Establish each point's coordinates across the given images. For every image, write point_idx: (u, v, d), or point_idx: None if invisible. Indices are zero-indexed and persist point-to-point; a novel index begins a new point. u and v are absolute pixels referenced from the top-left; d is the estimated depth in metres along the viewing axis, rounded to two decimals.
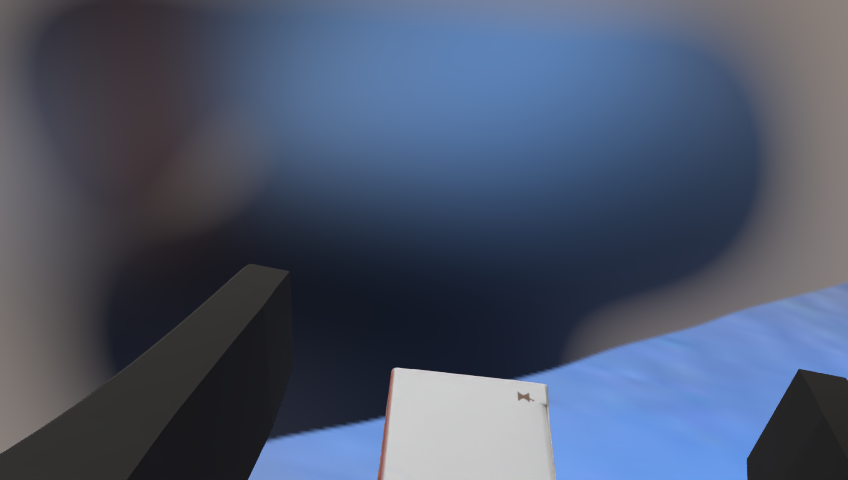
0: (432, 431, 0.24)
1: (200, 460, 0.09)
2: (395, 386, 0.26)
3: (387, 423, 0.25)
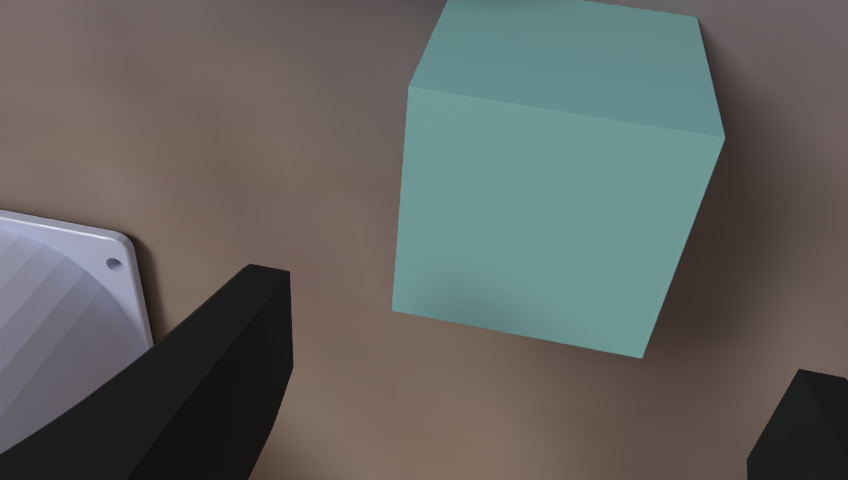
0: None
1: (200, 460, 0.09)
2: None
3: None
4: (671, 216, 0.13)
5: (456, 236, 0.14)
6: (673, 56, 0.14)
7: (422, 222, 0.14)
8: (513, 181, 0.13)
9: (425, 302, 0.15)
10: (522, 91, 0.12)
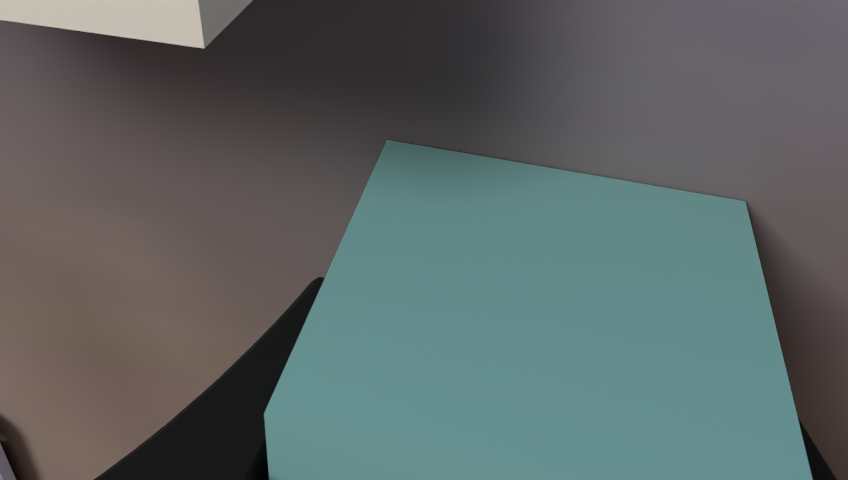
0: None
1: None
2: None
3: None
4: None
5: None
6: (717, 301, 0.09)
7: None
8: None
9: None
10: (464, 414, 0.07)
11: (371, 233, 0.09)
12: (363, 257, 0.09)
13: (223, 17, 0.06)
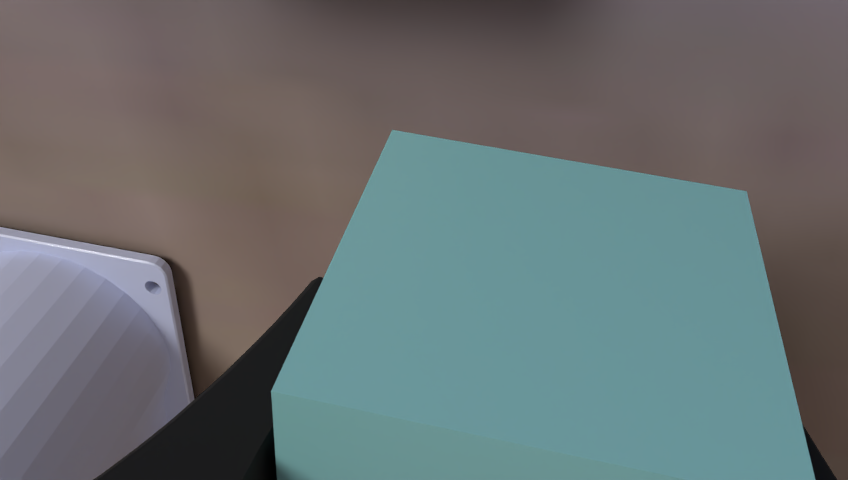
0: None
1: None
2: None
3: None
4: None
5: None
6: (716, 287, 0.09)
7: None
8: None
9: None
10: (467, 393, 0.07)
11: (376, 220, 0.09)
12: (368, 242, 0.09)
13: None
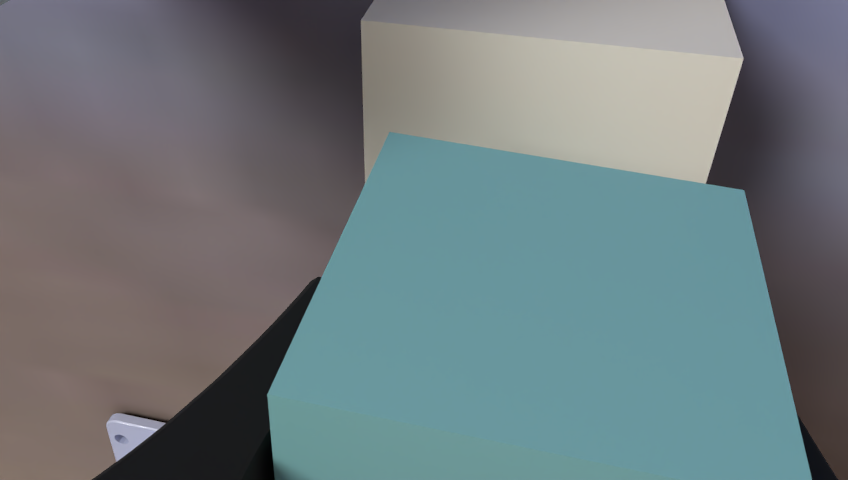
0: None
1: None
2: None
3: None
4: None
5: None
6: (713, 286, 0.09)
7: None
8: None
9: None
10: (463, 395, 0.07)
11: (373, 222, 0.09)
12: (365, 245, 0.09)
13: None
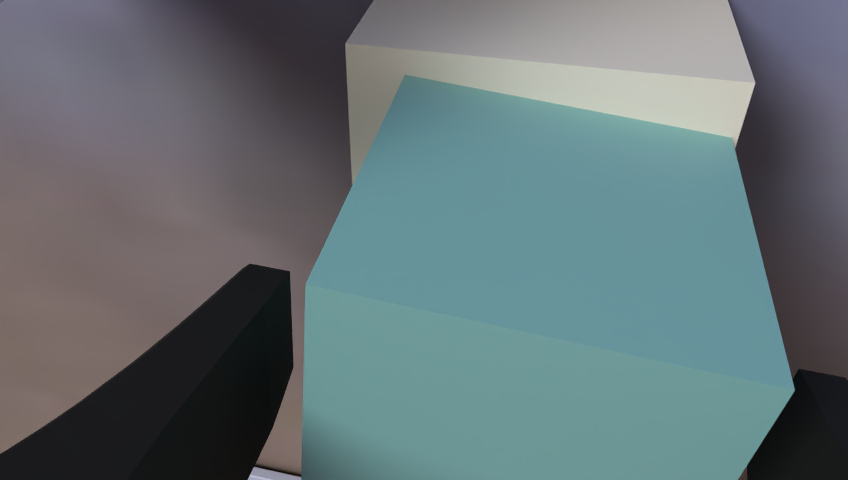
0: None
1: (200, 460, 0.09)
2: None
3: None
4: (701, 476, 0.09)
5: (386, 468, 0.10)
6: (704, 214, 0.10)
7: (337, 449, 0.10)
8: (467, 413, 0.09)
9: None
10: (482, 291, 0.08)
11: (394, 149, 0.10)
12: (387, 167, 0.10)
13: None
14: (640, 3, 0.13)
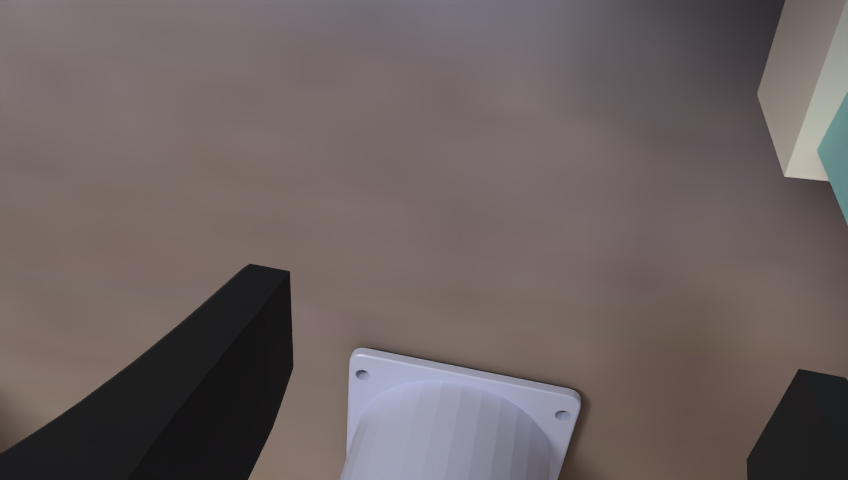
0: None
1: (200, 460, 0.09)
2: None
3: None
4: None
5: None
6: None
7: None
8: None
9: None
10: None
11: None
12: None
13: None
14: None
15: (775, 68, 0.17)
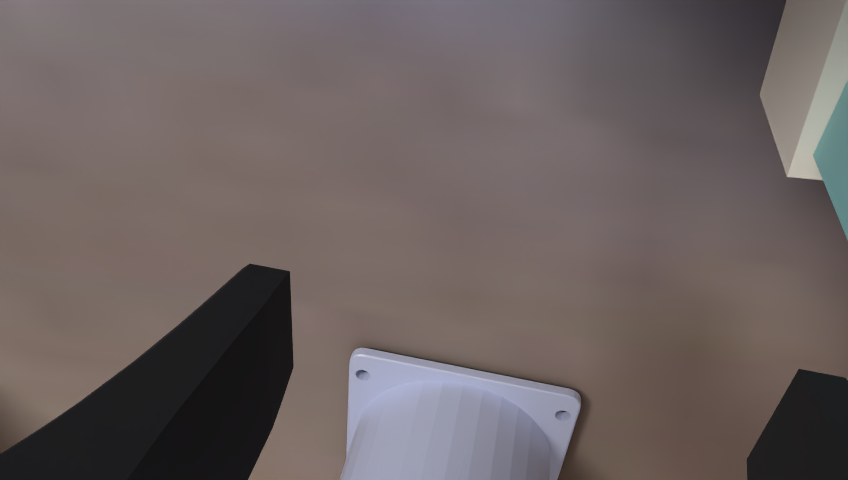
0: None
1: (200, 460, 0.09)
2: None
3: None
4: None
5: None
6: None
7: None
8: None
9: None
10: None
11: None
12: None
13: None
14: None
15: (777, 68, 0.17)
